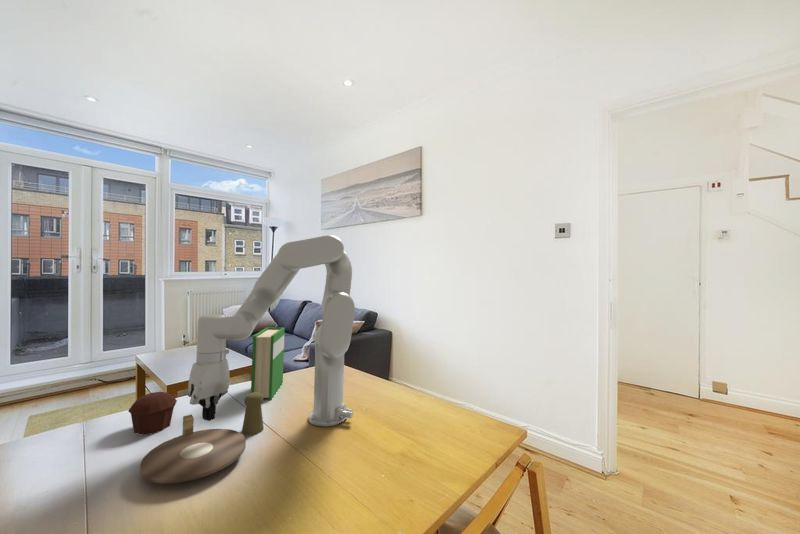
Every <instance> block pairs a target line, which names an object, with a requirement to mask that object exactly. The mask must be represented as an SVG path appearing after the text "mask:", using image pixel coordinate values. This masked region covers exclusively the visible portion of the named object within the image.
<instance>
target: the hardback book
mask: <svg viewBox="0 0 800 534" xmlns="http://www.w3.org/2000/svg"><path fill="white" fill-rule="evenodd" d="M285 332H286V331H285V327H265V328H264V329H262V330H260V331H258V332H257V333H255V334H253V335H252V353H251V354H252V355H251V356H252V357H251V381H250V383H251V385H250V393H253V392H259V393H262V395H263V399H268V401H272V400H273V399H274V397H275V396H274V395H276V394H277V393H278V391H279V390H280V389H281V387H282V386H283V384H284V383H283V382H284V358H285V357H284V356H285ZM282 383H283V384H282ZM281 385H282V386H281ZM280 386H281V387H280ZM278 389H279V390H278ZM276 392H277V393H276ZM272 398H273V399H272Z"/></svg>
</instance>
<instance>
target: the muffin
mask: <svg viewBox="0 0 800 534" xmlns="http://www.w3.org/2000/svg"><path fill="white" fill-rule="evenodd" d="M177 401H178V400H177V399H176V398H175V396H174V395H172V394H171V393H168V392H165V391H155V392H151V393H146V394H145V395H142V396H141V397H139V398H137V399H136V400H135V401H134V403H132V405H131V406H130V407H129V409H128V412H129V413H130V416H131V422H132V427H133V433H134V434H137V433H138V434H137V435H139V434H143V435H151V434H150V433H152V434H155V433H158V431H159V432H162V431H164V430H165V429H167V428H169V427H170V426H171V423H172V417H173V413H174V407H175V406H176V404H177ZM154 432H155V433H154Z"/></svg>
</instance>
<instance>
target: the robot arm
mask: <svg viewBox="0 0 800 534" xmlns="http://www.w3.org/2000/svg"><path fill="white" fill-rule="evenodd" d="M320 265H321V266H322V265H324V266H325V269H326V275H325V285H324V291H323V296H322V301H321V310H322V312H323V313H322V320H321V324H320V326H319V327H318V328H317V329H316V332H315V335H314V387H313V410H312V411H310V413H308V417H307V420H308V422H309V423H310V424H311V425H314V426H318V427H334V426H337V425H339V423H340V424H342V423H344V422H345V421H346V420H347V419H353V416H354V411H353V410H354V409H353V408H347V406H346V405H347V404H346V402H344V379H345V353H346V352H347V351H348V350H349V347H350V344H351V340H352V333H353V327H354V321H355V315H356V314H355V312H356V310H355V308H356V306H355V302H354V300H353V298H352V297H351V289H352V279H353V268H352V267H353V266H352V261H351V260H350V258H349V256H348V254H347V252H346V251H345V246H344V243H343V241H342V240H341V239H340V238H339V237H338V236H336V235H331V234H328V235H321V236H317V237H311V238H306V239H300V240H294V241H290V242H289V241H288V242H286V243H284V244H282V245H281V246H280V247H279V249H278V251H277V253H276V255H275V256H274V257H273V258H272V260H271V261H270V263H269V264H268V265H267V266H266V268H265V269H264V271H263V272H262V274H260V276H259V277H258V278H257V280H256V282H255V283H254V285H253V287H252V288H253V289H252V290H251V292H250V294H248V296H247V297H246V299H245V300H244V302H243V303H242V304H241V305H240V307H239V309H237V311H236V313H235V314H234V315H232V316H226V315H224V314H215V313H214V314H212V313H211V314H204V315H201V316H199V317H198V320H197V330H196V331H197V332H196V333H197V336H196V337H197V338H196V356H195V357H196V358H195V359H196V360H195V362H193V363H192V366H191V369H190V372H189V379H188V384H187V385H188V386H187V397H189V398H190V400H189V405H192V406H195V405H200V406H201V407H202V413H201V416H202V419H203V420H205V421H208V422H211V420H215V417H216V413H217V412H216V409H217V405H218V404H219V401H220V399H221V397H224V396H225V395H226V394H228V392H229V388H230V366H229V362H228V359H227V358H226V357H227V354H229V353H230V350H229V349H228V348H227V341H228V340H229V341H243V340H246V339H248V338H249V337H250V336H251V335H252V333H253V332H254V329H255V328H256V327H257V325H258V323H259V322H260V321H261V319H262V318H263V317H264V315H265V314H266V313H267V311H268V310H269V309H270V308H271V306H272V305H273V304H274V303H275V302H276V301H278V299H280V297H281V296H282V295H283V293H284V292H285V290H286V289H287V288H288V286H289V285H290V284H291V282H292V280H293V279H294V278H295V277H296V275H297V274H298V272H299V271H300V270H301V269H306V268H311V267H312V268H313V267H316V266H320ZM345 419H346V420H345ZM344 420H345V421H344ZM341 422H342V423H341Z"/></svg>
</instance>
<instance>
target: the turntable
mask: <svg viewBox="0 0 800 534" xmlns="http://www.w3.org/2000/svg"><path fill="white" fill-rule="evenodd" d="M194 420H195V418H194V416H193V414H188V415H183V416H182V434H181V435H178V436H175V437H173V438H171V439H168V440H166V441H164V442H162V443H161V444H159V445H157V446H155V447H154V448H153V449H151V450H150V451H148V453H146V454H145V455H144V457H143V458H142V459H141V461H140V463H139V464H140V465H139V472H140V476H141V477H142V478H143V479H144V480H147V481H148V482H153V483H156V484H178V483H185V482H190V481H194V480H198V479H200V478H201V479H202V478H204V477H207V476H209V475H212V474H215V473H217V472H220V471H222V470H223V469H225V468H226V467H228V466H230V465H232V464H233V463H234V462H236V461H237V460H238V459H239V458H240V457H241V456H242V455H243V454H244V452H245V450H246V443H247V442H246V437H245V435H244V434H242V432H239V431H237V430H234V429H230V428H209V429H202V430H196V431H194V423H195V421H194Z"/></svg>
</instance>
